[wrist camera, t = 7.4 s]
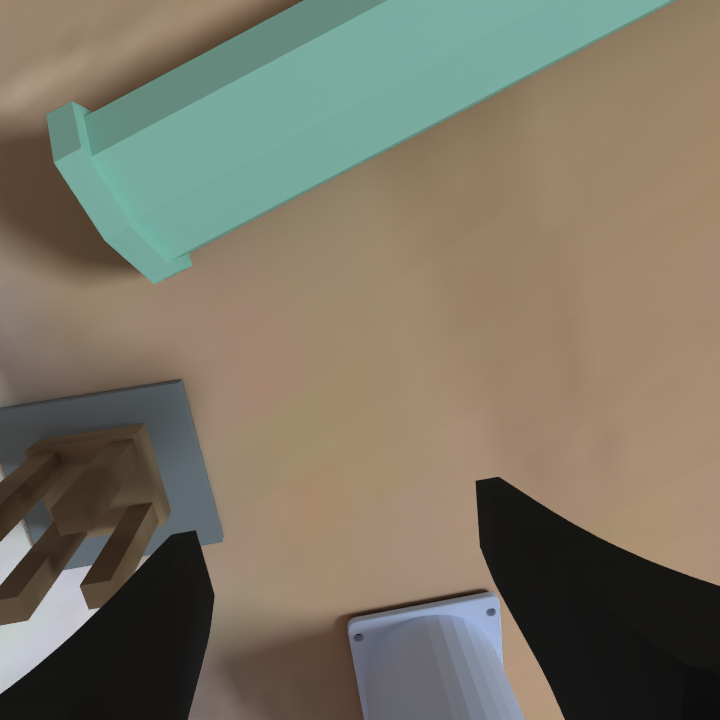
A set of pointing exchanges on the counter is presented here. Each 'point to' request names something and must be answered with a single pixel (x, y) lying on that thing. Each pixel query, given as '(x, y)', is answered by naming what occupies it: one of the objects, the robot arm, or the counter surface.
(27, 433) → the mat
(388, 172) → the counter surface
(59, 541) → the stool
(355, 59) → the container
